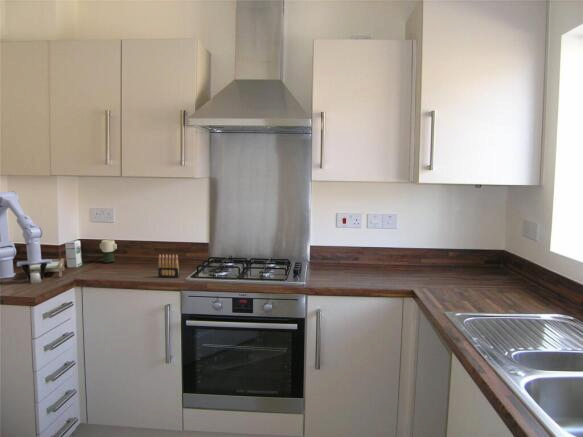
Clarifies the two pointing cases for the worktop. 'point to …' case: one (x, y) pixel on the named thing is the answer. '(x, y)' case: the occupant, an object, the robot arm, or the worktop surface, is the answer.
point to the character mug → (108, 250)
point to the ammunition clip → (168, 267)
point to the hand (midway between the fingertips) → (35, 279)
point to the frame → (59, 268)
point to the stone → (35, 277)
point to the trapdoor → (53, 265)
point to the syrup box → (73, 253)
